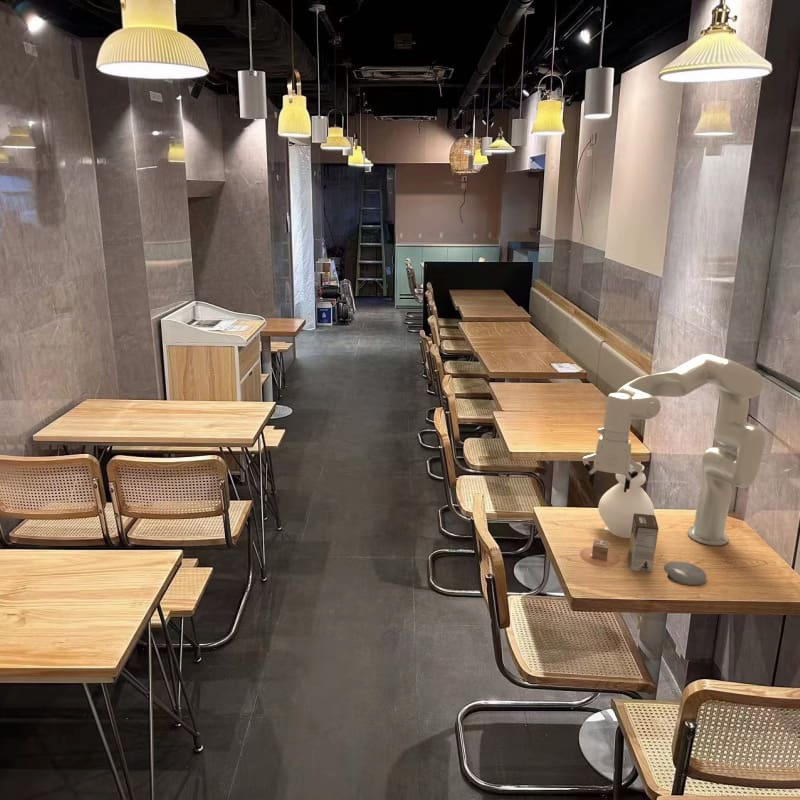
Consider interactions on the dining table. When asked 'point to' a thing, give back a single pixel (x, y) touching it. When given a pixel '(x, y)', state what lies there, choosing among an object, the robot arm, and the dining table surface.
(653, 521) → the coffee box
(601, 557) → the letter cube
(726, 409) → the robot arm
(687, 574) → the charcoal dish
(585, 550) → the terracotta dish
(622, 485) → the decorative vase
